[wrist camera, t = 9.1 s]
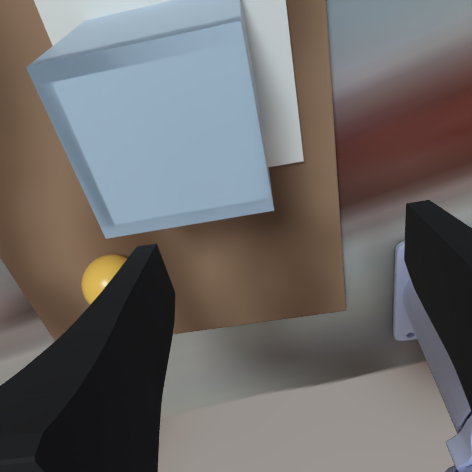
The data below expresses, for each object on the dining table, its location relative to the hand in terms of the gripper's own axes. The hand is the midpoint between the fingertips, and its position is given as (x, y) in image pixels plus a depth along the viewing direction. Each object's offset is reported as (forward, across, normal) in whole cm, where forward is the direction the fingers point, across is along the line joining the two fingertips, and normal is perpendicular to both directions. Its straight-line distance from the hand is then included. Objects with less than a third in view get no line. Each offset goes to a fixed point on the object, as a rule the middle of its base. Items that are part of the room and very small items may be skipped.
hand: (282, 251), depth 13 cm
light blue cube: (+8, +3, -3) cm, 9 cm away
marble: (+7, +9, +6) cm, 13 cm away
